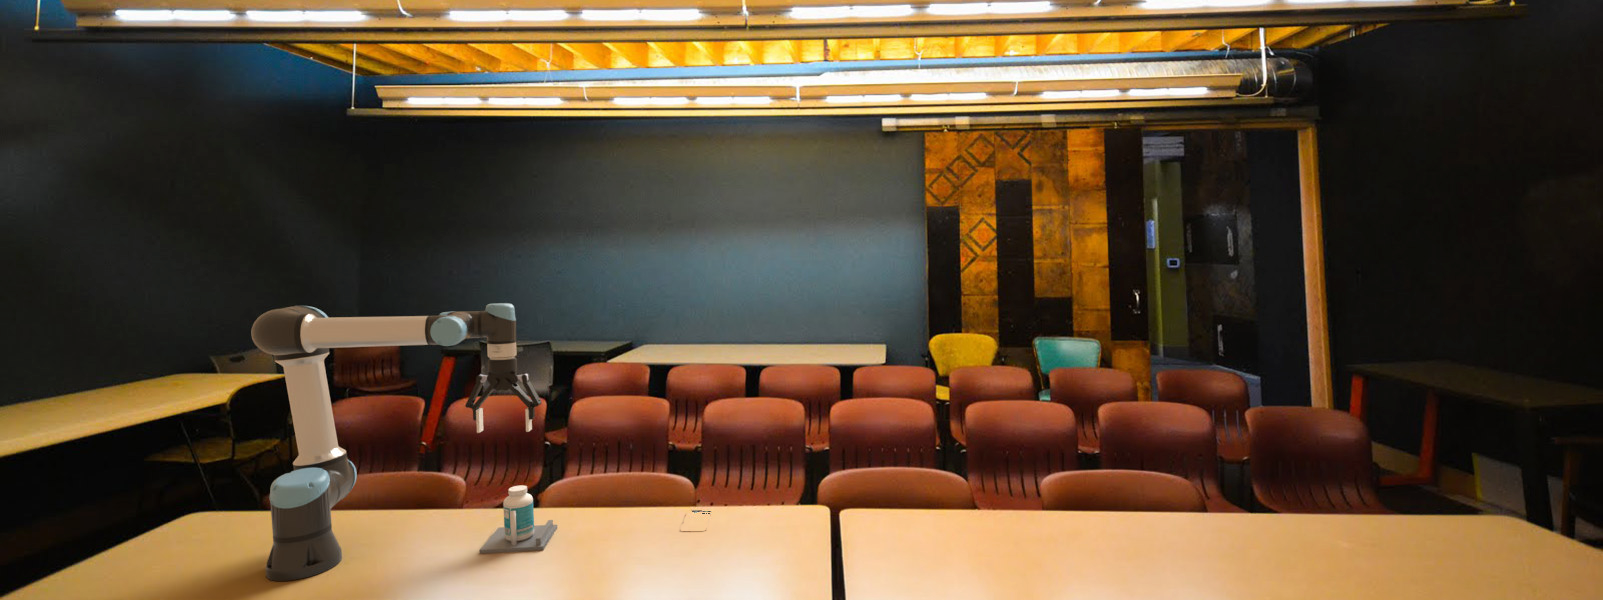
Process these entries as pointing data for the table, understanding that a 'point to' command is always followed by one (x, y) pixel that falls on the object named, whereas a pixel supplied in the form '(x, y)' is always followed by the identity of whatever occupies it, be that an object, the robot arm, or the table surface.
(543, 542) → the grey peg board
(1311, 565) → the table surface
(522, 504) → the pill bottle
